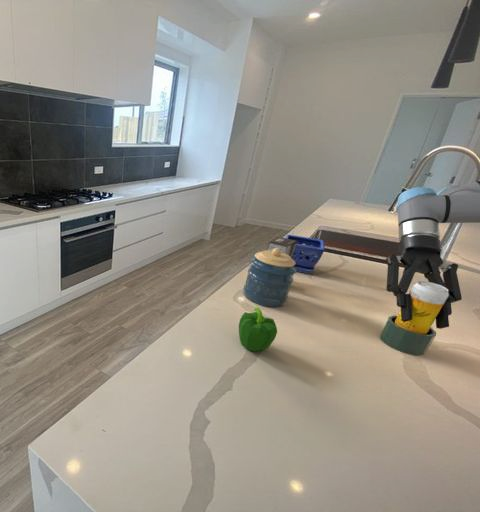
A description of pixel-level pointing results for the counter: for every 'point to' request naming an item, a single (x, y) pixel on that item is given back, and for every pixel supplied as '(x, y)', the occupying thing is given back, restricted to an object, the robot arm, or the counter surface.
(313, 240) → the flower pot
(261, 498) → the counter surface
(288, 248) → the coffee box
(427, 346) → the holder
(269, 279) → the canister
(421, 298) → the yellow and white cup
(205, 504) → the counter surface
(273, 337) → the bell pepper
